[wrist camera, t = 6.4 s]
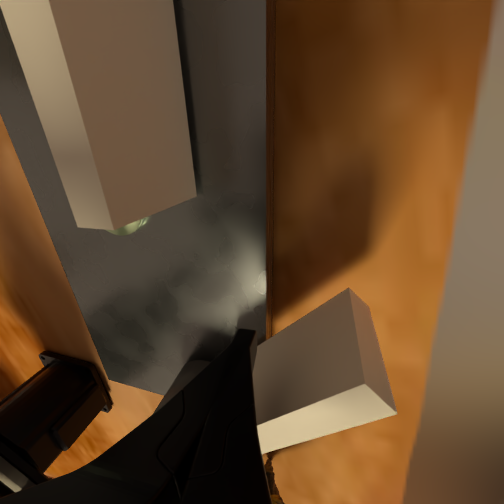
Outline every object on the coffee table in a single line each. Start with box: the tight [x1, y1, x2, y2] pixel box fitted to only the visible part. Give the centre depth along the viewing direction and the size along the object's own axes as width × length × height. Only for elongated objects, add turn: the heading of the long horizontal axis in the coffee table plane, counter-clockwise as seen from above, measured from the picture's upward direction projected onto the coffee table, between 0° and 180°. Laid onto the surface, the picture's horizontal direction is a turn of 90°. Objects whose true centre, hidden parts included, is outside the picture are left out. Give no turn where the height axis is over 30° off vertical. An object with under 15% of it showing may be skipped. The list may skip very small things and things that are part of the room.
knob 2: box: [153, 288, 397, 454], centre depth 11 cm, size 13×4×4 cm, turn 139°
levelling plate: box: [0, 0, 276, 396], centre depth 12 cm, size 13×29×2 cm, turn 1°
